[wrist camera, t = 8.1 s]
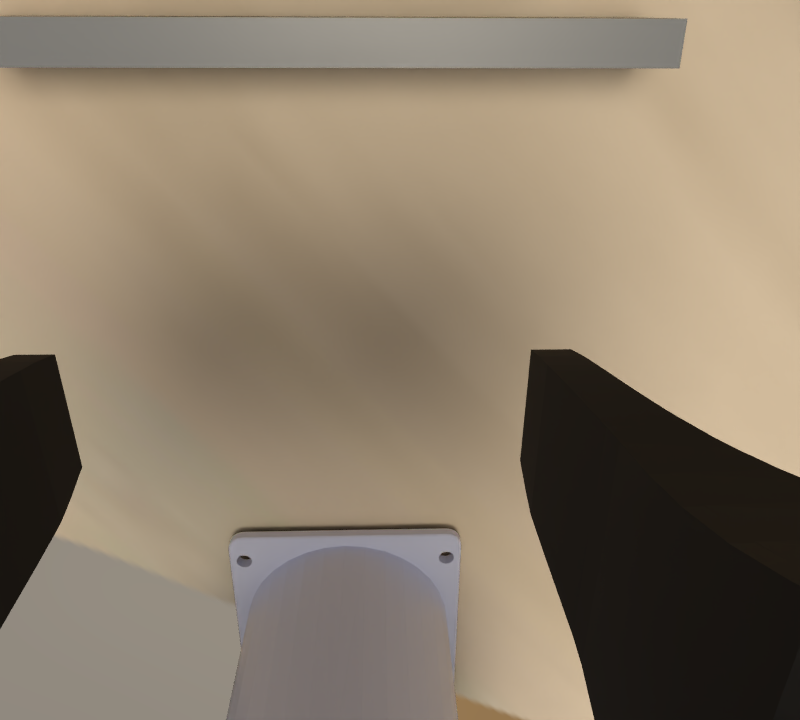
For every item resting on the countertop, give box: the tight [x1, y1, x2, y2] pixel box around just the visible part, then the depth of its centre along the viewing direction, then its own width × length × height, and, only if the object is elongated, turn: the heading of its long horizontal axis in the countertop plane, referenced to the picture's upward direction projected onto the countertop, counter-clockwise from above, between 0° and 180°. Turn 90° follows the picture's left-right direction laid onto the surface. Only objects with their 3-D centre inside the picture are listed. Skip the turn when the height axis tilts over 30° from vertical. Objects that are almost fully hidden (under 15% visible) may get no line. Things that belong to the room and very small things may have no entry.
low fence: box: [0, 16, 687, 68], centre depth 17 cm, size 1×16×3 cm, turn 90°
